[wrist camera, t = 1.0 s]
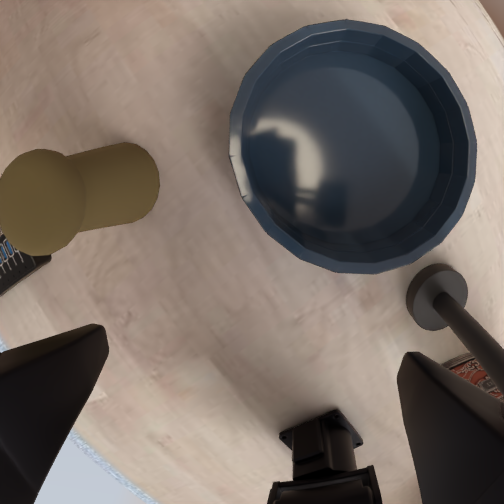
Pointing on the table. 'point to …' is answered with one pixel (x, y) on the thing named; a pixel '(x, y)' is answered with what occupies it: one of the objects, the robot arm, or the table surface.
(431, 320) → the dark disc-based rod
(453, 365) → the lighter
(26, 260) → the multiport hub
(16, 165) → the olive game pawn
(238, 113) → the bowl
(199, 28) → the table surface
